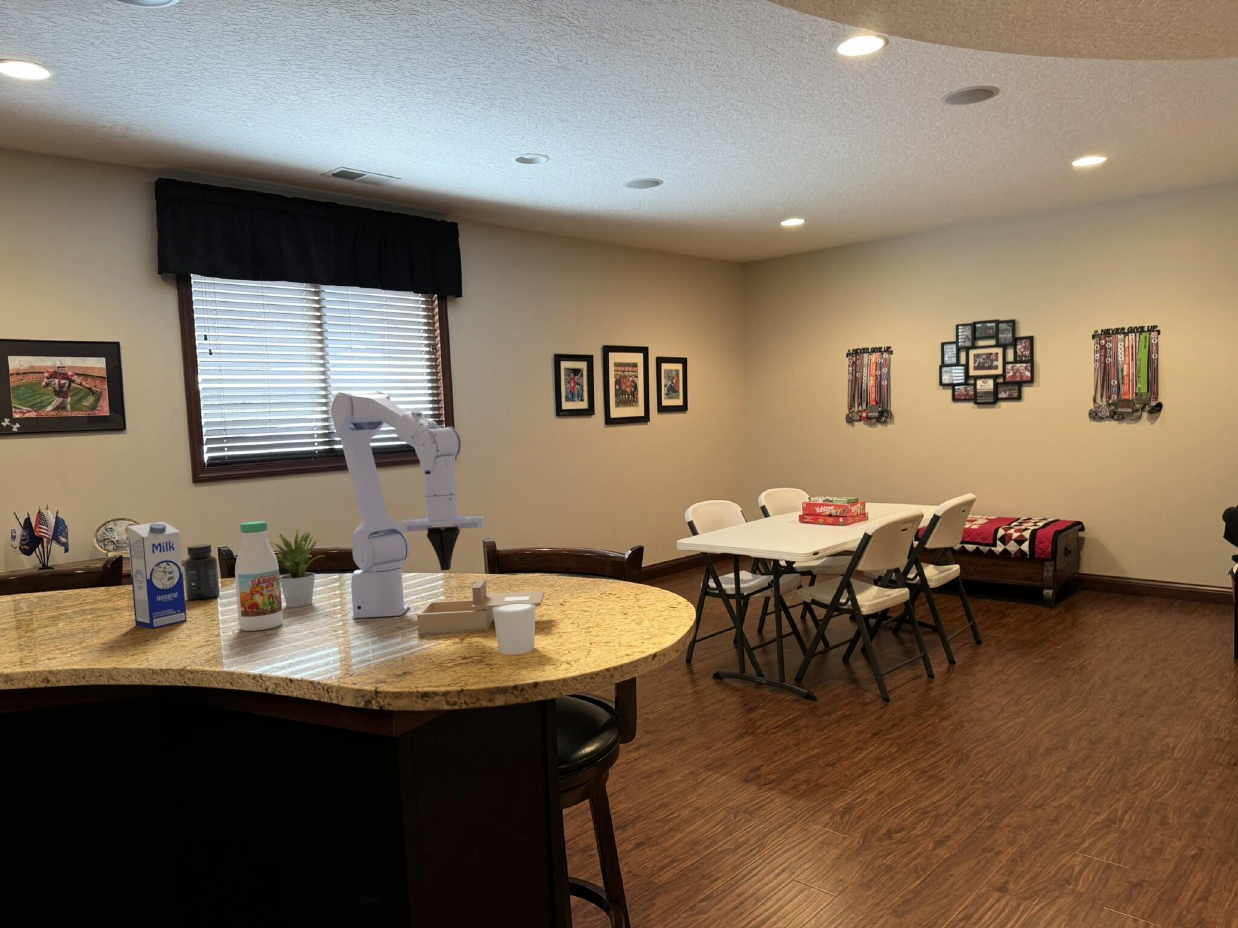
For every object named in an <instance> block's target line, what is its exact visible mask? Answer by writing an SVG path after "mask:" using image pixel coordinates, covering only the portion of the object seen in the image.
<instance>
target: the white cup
mask: <svg viewBox="0 0 1238 928" xmlns="http://www.w3.org/2000/svg"><path fill="white" fill-rule="evenodd" d="M493 615H494V618H493V621H494V622H493V623H494V627H495V632H496V633H495V635H496V641H497V646H498V647H497V648H498V654H499V653H500V654H501V655H505V656H506V655H507V656H516V655H524V654H528V653H531V652H532V651H534V650H535V636H536V630H535V629H536V626H535V625H536V606H535V605H534V604H531V603H508V604H503V605H499V606H496V607H494V608H493Z"/></svg>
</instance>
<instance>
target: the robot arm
mask: <svg viewBox="0 0 1238 928" xmlns="http://www.w3.org/2000/svg"><path fill="white" fill-rule="evenodd" d="M331 403H332V405H331V408H330V414H331V417H332V421H333V422H332V423H333V425H334V429H335V433H336V437H338V438H339V439H340V443H341V445H342V450H343V453H344V457H345V462H346V465H347V469H348V473H349V477H350V482H351V486H352V489H353V495H354V498H355V501H356V505H357V509H358V514H359V518H360V524H359V526H357V527H356V529H354V531H353V533H352V534H351V541H352V559H353V561H354V563H355V565H356V566H357V567H358V568H359V569H356V570H354V571H353V573H352V576H351V580H350V581H351V587H350V589H351V601H352V614H353V615H352V616H351V617H352V618H353V619H363V618H365V619H366V618H379V617H380V618H383V617H397V616H402V615H404V613H405V612H406V611H407V610H408V609H409V608H410V606H411V604H405V600H404V584H403V568H402V567H405V566H406V565H405V564H406V563H405V562H406V561H407V560H408V559H409V556H410V552H411V545H410V541H409V540H408V538H407V536H406V534H405V533H408V532H420V531H421V532H422V531H423V532H424V531H427V533H426V537H427V539H428V541H429V542H430V544H431V546H432V548H433V550H434V552H435V554H436V557H437V560H438V562H439V566H440V571H449V570H450V569H451V568H452V567H451V566H452V558H453V553H454V548H455V546H456V543H457V540H458V538H459V535H460V532H461V529H462V530H463V529H484V527H485V517H484V516H483V515H482V516H480V515H479V516H460V515H459V514H460V513H459V498H458V484H457V483H458V482H457V466H456V465H457V464H456V458H457V457H459V455H460V453H461V450H462V439H461V436H460V434H459V432H458V430H457V429H455V428H454V427H453V426H446V427H445V426H444V428H443V427H441V426H439V425H438V423H437V422H436V421H434V420H430V419H428V418H427V417H425V416H423V412H422V411H420V410H412V411H407V412H406V411H404V410H403V409H402V408H400V406H398V405H396V403H394V402H392V401H391V398H390V395H389V394H386V393H385V392H383V391H381V390H380V391H379V390H378V391H377V390H376V391H372V392H371V391H364V392H362V391H361V392H349V391H348V392H346V391H340V392H339V391H338V392H337V393H336V395H335V396H334V398H333V399H332V402H331ZM384 425H387V426H390V427H392V428H393V429H395V434H396V436H397V437H398V438H399V439H400V440H402V441H403V442H404V443H406V444H407V445H409V446H411V447H413V449H414V450H415V453H416V456H417V457H418V460H419V467H420V469H421V471H423V482H424V483H423V484H424V497H425V499H424V501H425V514H426V515H425V516H426V518H420V519H406V520H404V519H403V520H402V521H401V523H400V522H399V521H396V520H395V519H394V518H392V517H391V516H389V514H388V510H387V506H386V501H385V497H384V494H383V489H382V485H381V483H380V479H379V474H378V469H377V466H376V461H375V459H374V454H373V450H372V447H371V440H372V438H374V437H375V436H377V435H378V434H379V432H380V431H381V429H382V427H383V426H384Z"/></svg>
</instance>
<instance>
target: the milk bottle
mask: <svg viewBox="0 0 1238 928" xmlns="http://www.w3.org/2000/svg"><path fill="white" fill-rule="evenodd" d="M239 527H240V532H241V533H240V535H241V536H242V542H241V546H240V549H239V551H238V555H237V558H236V561H235V566H234V575H235V576H234V580H235V591H236V592H235V594H236V607H237V616H238V617H237V619H238V628H239V629H240V630H241V631H242V632H243V631H245V632H257V631H265V630H269V629H273V628H277V627H280V626H281V625H282V624H283V620H284V618H283V615H284V613H283V602H282V587H281V582H280V577H281V576H280V570H279V569H280V568H279V567H280V566H279V564H278V563H279V562H278V560H277V558H276V556H275V555H276V554H275V552H274V551H273V549H272V548H271V547H272V546H270V545H271V544H270V542H269V540H268V538H267V533H268V524H267V521H266V520H265V521H263V520H261V521H260V520H258V521H257V520H256V521H249V522H243V523H241V524H240V526H239ZM268 542H269V543H268Z"/></svg>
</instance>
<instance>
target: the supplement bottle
mask: <svg viewBox="0 0 1238 928" xmlns="http://www.w3.org/2000/svg"><path fill="white" fill-rule="evenodd" d="M211 553H213V550H212V545H211V544H208V543H205V544H195V545H194V544H193V545H189V546H187V554H186V555H187V556H188V558H187V559H185V560H184V562H183V577H184V590H185V599H186V600H187V601H189V602H201V601H208V600H212V599H217V598H218V597H219V596H220V580H219V565H218V559H217V558H216V557H215V556H213V555H212V554H211Z"/></svg>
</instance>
